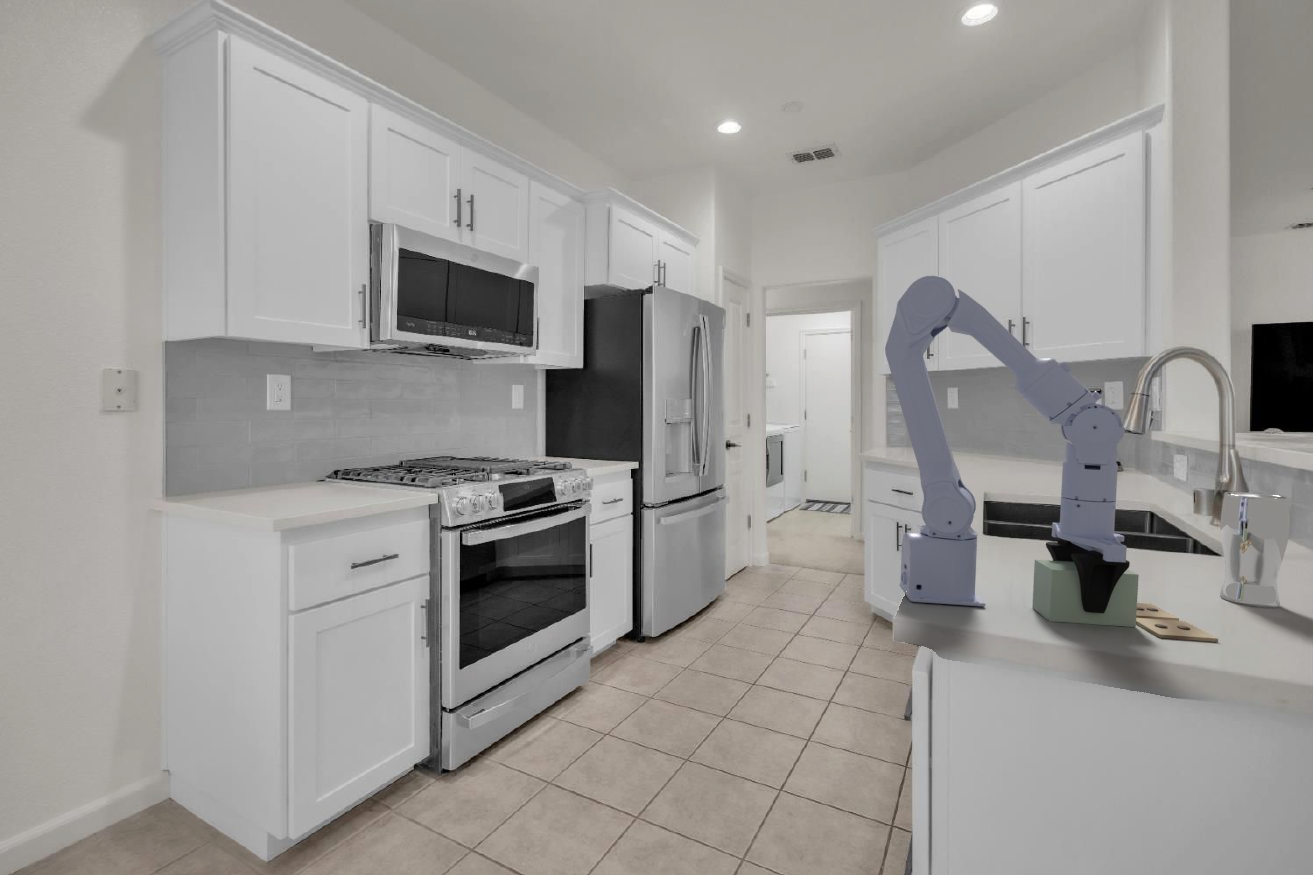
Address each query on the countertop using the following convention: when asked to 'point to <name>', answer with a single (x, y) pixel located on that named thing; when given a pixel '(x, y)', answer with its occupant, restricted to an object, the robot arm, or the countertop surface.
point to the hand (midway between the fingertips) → (1082, 604)
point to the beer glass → (1253, 546)
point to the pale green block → (1063, 596)
